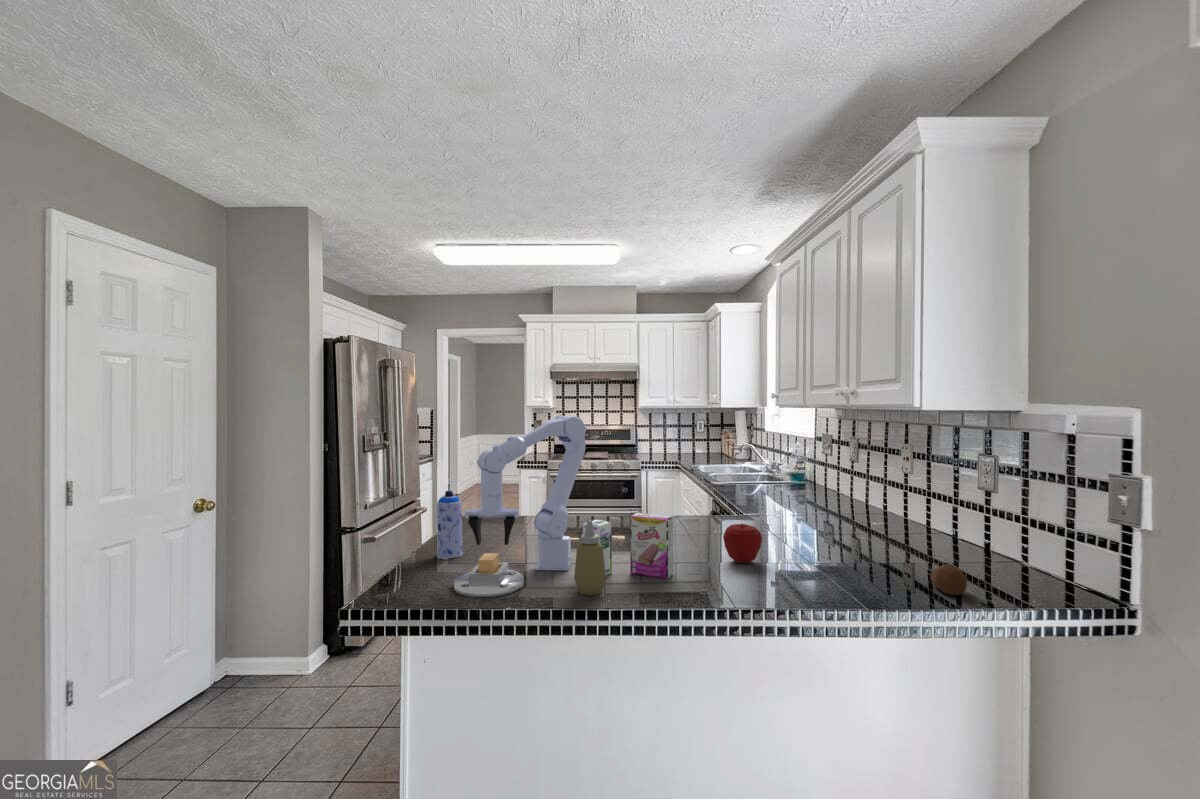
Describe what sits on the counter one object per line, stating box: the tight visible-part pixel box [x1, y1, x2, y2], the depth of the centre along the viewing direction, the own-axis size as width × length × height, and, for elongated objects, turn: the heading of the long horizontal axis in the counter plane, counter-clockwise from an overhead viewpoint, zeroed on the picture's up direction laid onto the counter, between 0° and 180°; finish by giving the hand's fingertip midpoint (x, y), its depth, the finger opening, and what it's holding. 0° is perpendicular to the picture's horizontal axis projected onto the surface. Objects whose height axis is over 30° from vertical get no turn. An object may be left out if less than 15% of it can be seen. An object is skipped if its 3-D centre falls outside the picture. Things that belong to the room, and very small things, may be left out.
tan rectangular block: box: [477, 553, 500, 573], centre depth 151 cm, size 4×6×6 cm, turn 176°
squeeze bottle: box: [573, 520, 607, 596], centre depth 145 cm, size 8×8×18 cm
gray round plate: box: [453, 561, 525, 598], centre depth 151 cm, size 18×18×4 cm
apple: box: [722, 522, 763, 564], centre depth 169 cm, size 11×11×12 cm
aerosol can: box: [436, 490, 464, 559], centre depth 178 cm, size 8×8×20 cm
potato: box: [929, 563, 968, 596], centre depth 144 cm, size 7×10×7 cm
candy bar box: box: [629, 512, 674, 580], centre depth 158 cm, size 11×5×16 cm, turn 65°
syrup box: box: [582, 519, 613, 576], centre depth 159 cm, size 6×6×14 cm
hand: (492, 543), depth 157 cm, fingers open, 7 cm apart
